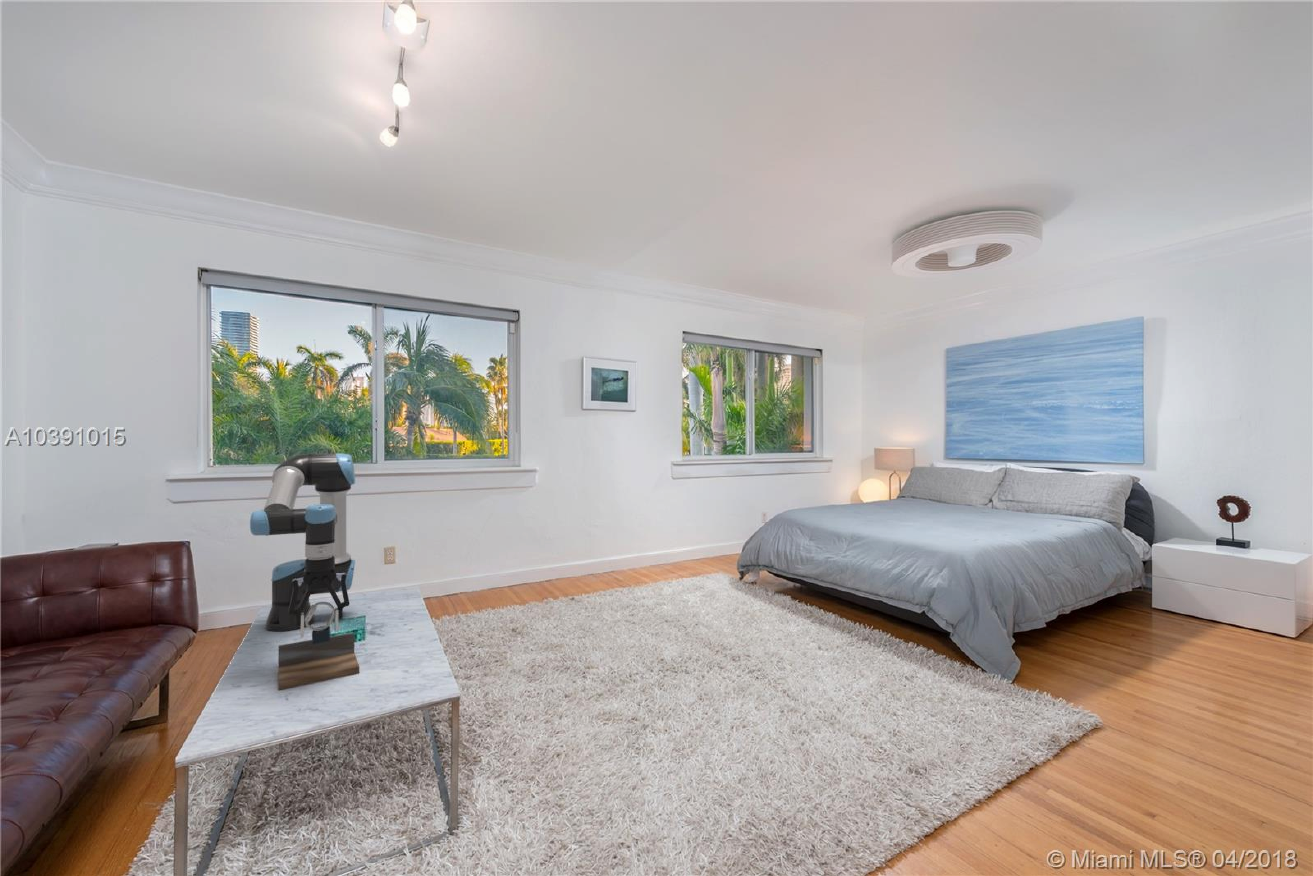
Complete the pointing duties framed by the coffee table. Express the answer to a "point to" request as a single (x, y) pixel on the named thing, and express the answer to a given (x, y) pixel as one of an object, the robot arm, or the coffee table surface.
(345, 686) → the coffee table surface
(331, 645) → the display stand
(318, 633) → the watch
